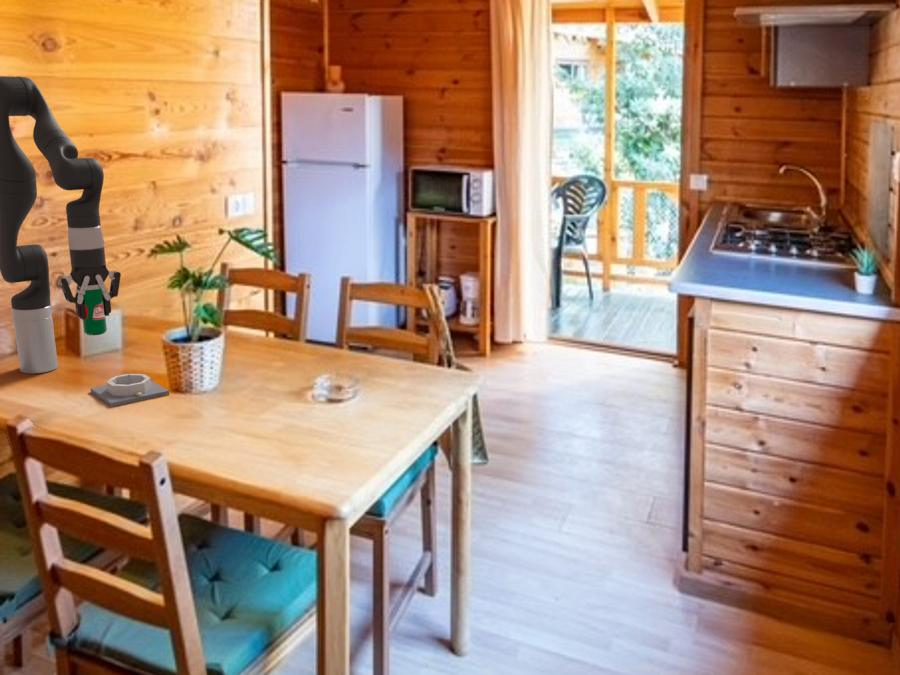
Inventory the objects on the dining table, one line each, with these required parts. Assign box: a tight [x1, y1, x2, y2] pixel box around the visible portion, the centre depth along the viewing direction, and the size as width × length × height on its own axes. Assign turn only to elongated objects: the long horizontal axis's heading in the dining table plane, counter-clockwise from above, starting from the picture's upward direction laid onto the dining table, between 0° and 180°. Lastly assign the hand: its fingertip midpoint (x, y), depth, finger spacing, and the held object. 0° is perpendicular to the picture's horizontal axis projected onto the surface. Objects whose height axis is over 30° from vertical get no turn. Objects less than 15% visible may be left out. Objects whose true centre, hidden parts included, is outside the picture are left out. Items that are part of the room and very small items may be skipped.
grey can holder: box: [90, 373, 170, 408], centre depth 210 cm, size 14×14×4 cm
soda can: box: [79, 284, 108, 336], centre depth 203 cm, size 5×5×12 cm
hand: (94, 316), depth 203 cm, fingers closed on soda can, 5 cm apart
